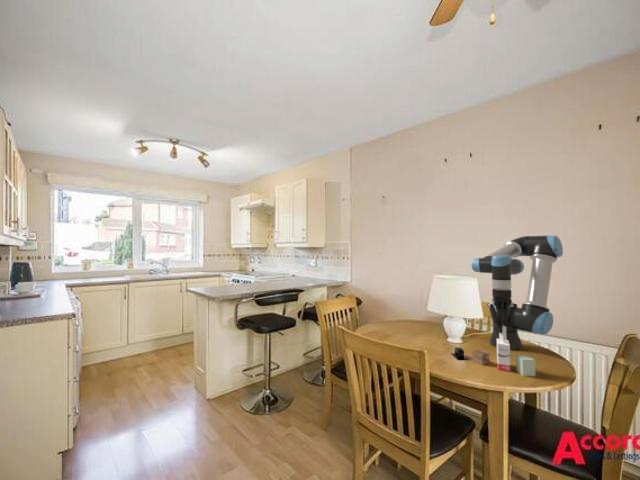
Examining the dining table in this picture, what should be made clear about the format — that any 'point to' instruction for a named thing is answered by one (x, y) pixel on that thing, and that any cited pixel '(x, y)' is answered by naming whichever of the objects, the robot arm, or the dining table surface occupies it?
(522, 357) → the sage block
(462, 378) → the dining table surface
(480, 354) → the walnut cube
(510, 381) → the dining table surface
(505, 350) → the ink box
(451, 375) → the dining table surface
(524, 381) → the dining table surface
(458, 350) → the black bracket plate
